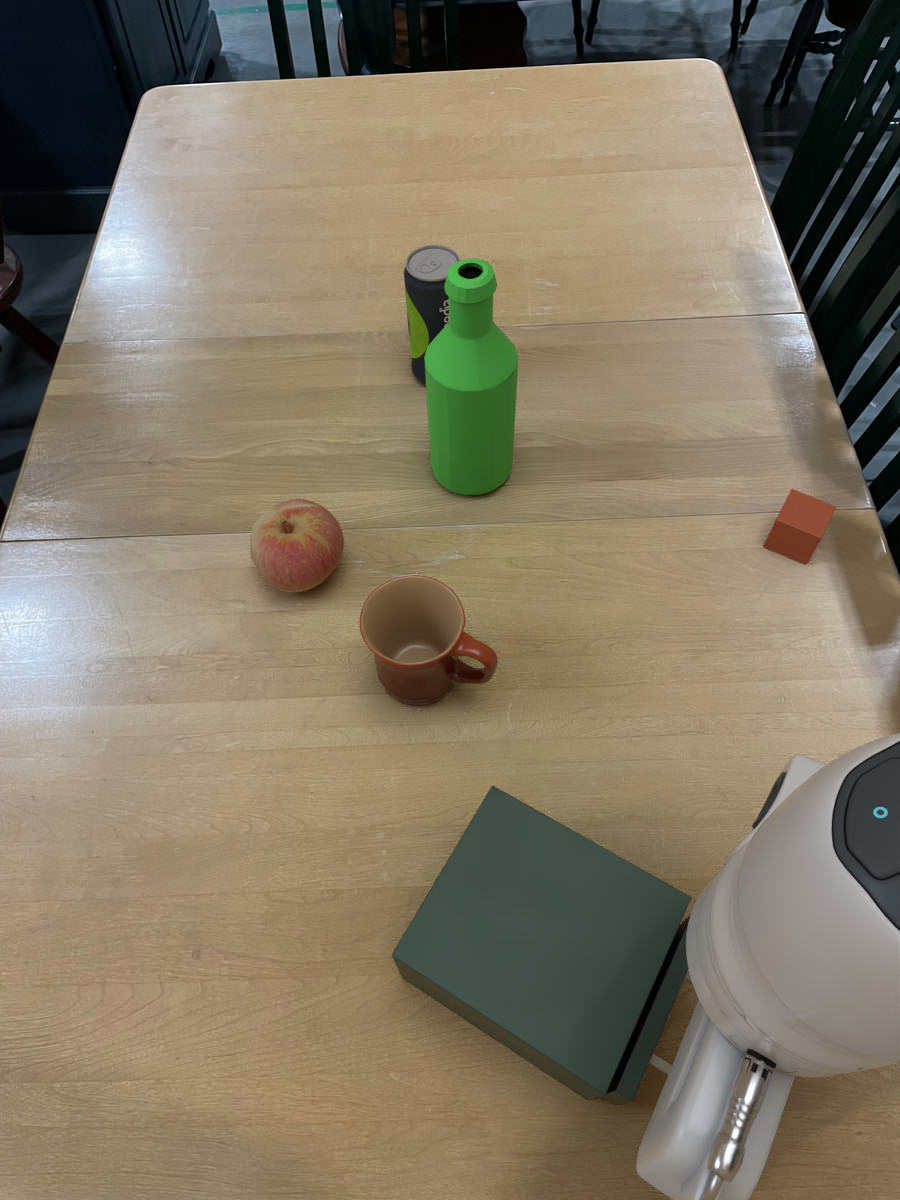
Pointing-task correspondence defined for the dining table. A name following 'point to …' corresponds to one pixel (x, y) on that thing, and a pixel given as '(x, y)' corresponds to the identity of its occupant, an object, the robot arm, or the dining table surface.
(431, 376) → the bottle
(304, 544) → the apple
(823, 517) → the block
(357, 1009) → the dining table surface
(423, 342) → the beverage can
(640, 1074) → the drawer
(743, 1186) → the robot arm
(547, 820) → the cabinet
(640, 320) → the dining table surface
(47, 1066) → the dining table surface
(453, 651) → the mug
